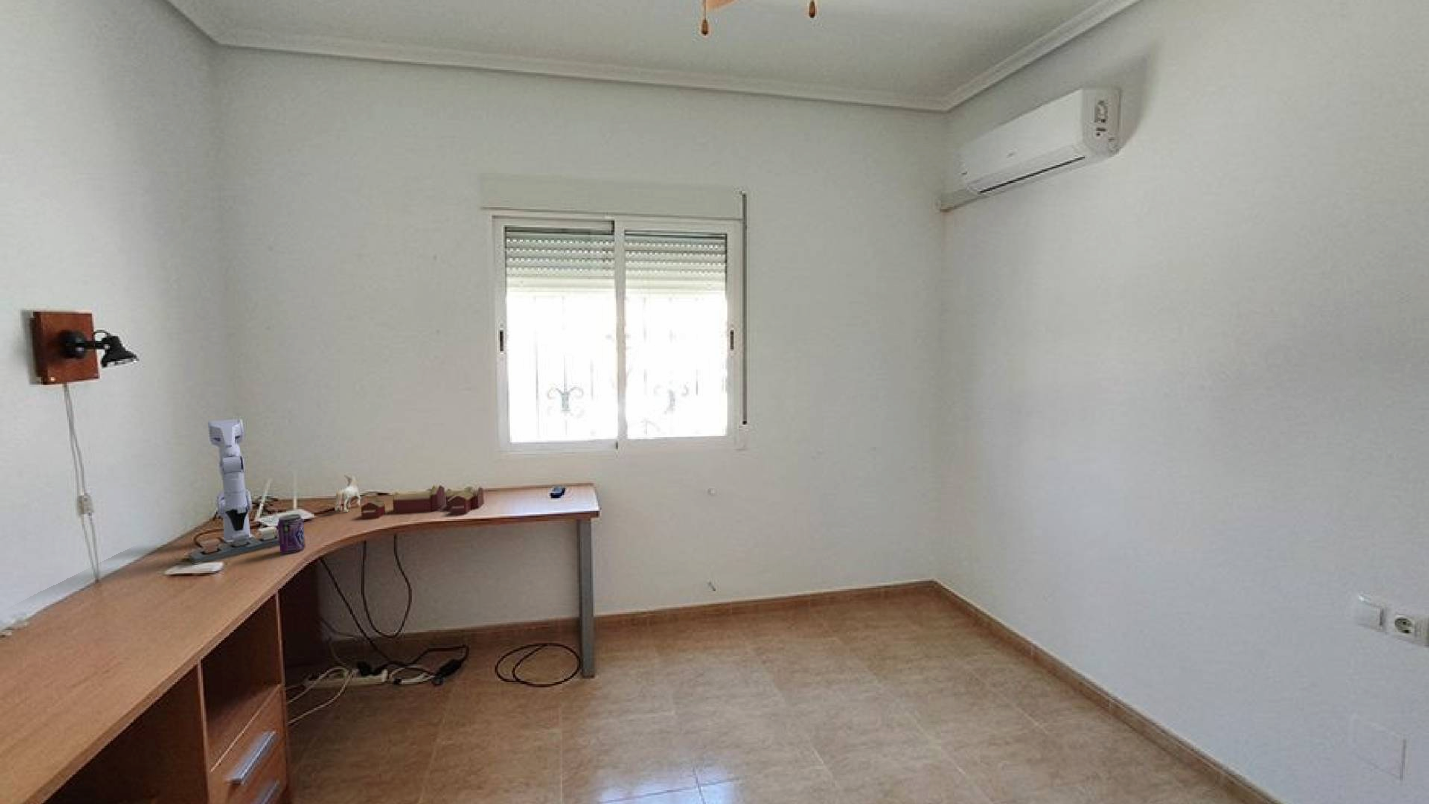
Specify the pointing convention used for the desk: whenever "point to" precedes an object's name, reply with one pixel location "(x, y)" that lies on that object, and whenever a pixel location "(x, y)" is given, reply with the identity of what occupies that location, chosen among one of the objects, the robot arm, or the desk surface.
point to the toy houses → (428, 502)
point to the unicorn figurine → (347, 494)
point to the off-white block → (267, 532)
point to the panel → (234, 549)
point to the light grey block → (239, 538)
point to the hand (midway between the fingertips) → (238, 530)
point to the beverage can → (291, 533)
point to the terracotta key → (210, 545)
